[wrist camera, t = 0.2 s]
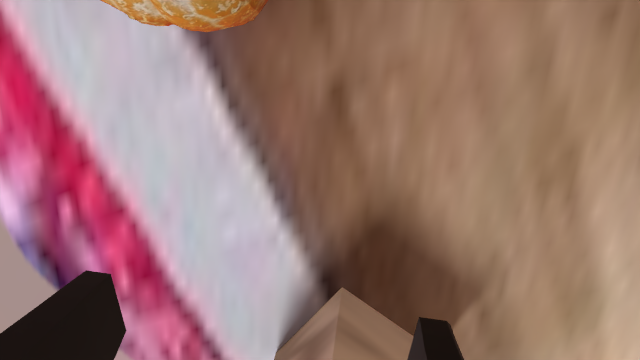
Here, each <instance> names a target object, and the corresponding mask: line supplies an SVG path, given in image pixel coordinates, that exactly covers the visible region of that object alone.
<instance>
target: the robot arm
mask: <svg viewBox="0 0 640 360" xmlns="http://www.w3.org/2000/svg"><path fill="white" fill-rule="evenodd" d="M125 332H126V328H125V325H124V321H123V317H122V314H121V310H120V306H119V303H118V299H117V295H116V292H115V288H114V285H113V281H112V277H111V274H107V273H100V272H92V271H85V272H83V273H82V274H81V275H79V276H78V277H76V278H75V279H74V280H72V281H71V282H70V283H68V284H67V285H66V286H64V287H63V288H61V289H60V290H59V291H57V292H56V293H55V294H53V295H52V296H51V297H50V298H48V299H47V300H45V301H44V302H43V303H42V304H40V305H39V306H38V307H36V308H35V309H34V310H32V311H31V312H29V313H28V314H27V315H25V316H24V317H22V318H21V319H20V320H18V321H17V322H16V323H14V324H13V325H12V326H10V327H9V328H7V329H6V330H5V331H3V332H2V333H0V360H114V358H115V356H116V354H117V351H118V349H119V346H120V344H121V342H122V339H123V337H124V335H125ZM407 360H464V358H463V356H462V354H461V351H460V349H459V346H458V344H457V341H456V339H455V336H454V334H453V331H452V328H451V326H450V324H449V323H448V322H447V321H443V320H435V319H428V318H421V317H419V319H418V323H417V326H416V330H415V334H414V337H413V341H412V345H411V348H410V352H409V355H408V359H407Z"/></svg>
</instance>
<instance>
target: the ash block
mask: <svg viewBox="0 0 640 360" xmlns="http://www.w3.org/2000/svg"><path fill="white" fill-rule="evenodd" d="M413 337H414V336H412V335H411V334H409V333H408V332H407V331H405V330H404V329H402V328H401V327H399V326H398V325H396V324H395V323H393V322H392V321H391V320H389V319H388V318H386V317H385V316H383V315H382V314H380V313H379V312H378V311H376V310H375V309H373V308H372V307H370V306H369V305H367V304H366V303H364V302H363V301H362V300H360V299H359V298H357V297H356V296H354V295H353V294H351V293H350V292H349V291H347V290H346V289H344V288H343V287H342V288H341V289H340V290H339V291H338V292H337V293H336V294H335V295H334V296H333V297H332V298H331V299H330V300H329V301H328V302H327V303H326V304H325V305H324V306H323V307H322V308H321V309H320V310H319V311H318V312H317V313H316V314H315V315H314V316H313V317H312V318H311V319H310V320H309V321H308V322H307V323H306V324H305V325H304V326H303V327H302V328H301V329H300V330H299V331H298V332H297V333H296V334H295V335H294V336H293V337H292V338H291V339H290V340H289V341H288V342H287V343H286V344H285V345H284V346H283V347H282V348H281V349H280V350H279V351H278V352H277V353H276V355H275V358H274V360H407V359H408V355H409V352H410V348H411V345H412V341H413Z"/></svg>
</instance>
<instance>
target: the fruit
mask: <svg viewBox="0 0 640 360" xmlns="http://www.w3.org/2000/svg"><path fill="white" fill-rule="evenodd" d="M101 1H103V2H105V3H107V4H110V5H111V6H113V7H115V8H117V9H118V10H120V11H122V12H124V13H125V14H127V15H128V16H129V18H131V19H135V20H137V21H139V22H141V23H143V24H149V25H154V26H169V25H173V24H175V25H177V26H179V27H181V28H184V29H187V30H191V31H203V32H210V31H216V30H221V29H225V28H229V27H234V26H239V25H244V24H246V23H247V22H249V21H252V20H254V19H255V17H256V16H257V15H258V14H259V13H260V11H261V10H262V9H263V7H264V6H265V4H266V3H267V1H268V0H101Z"/></svg>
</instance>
